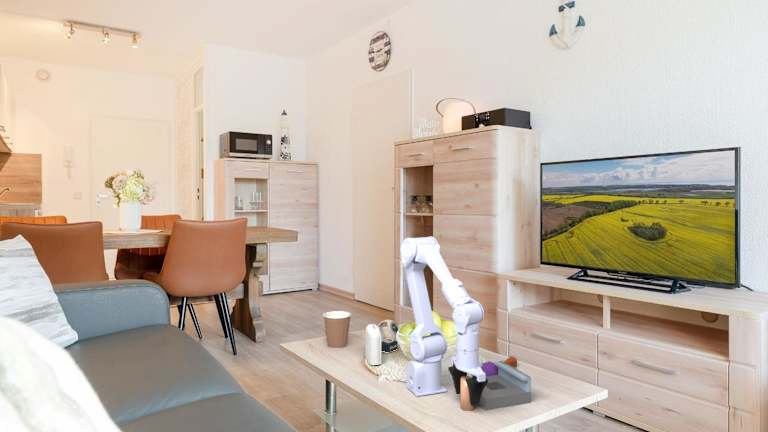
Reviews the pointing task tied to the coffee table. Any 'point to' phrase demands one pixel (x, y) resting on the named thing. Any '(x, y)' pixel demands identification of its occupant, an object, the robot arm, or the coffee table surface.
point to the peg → (465, 395)
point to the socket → (506, 388)
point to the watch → (386, 343)
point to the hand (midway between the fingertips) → (467, 399)
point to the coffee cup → (337, 328)
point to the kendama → (492, 369)
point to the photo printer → (373, 344)
